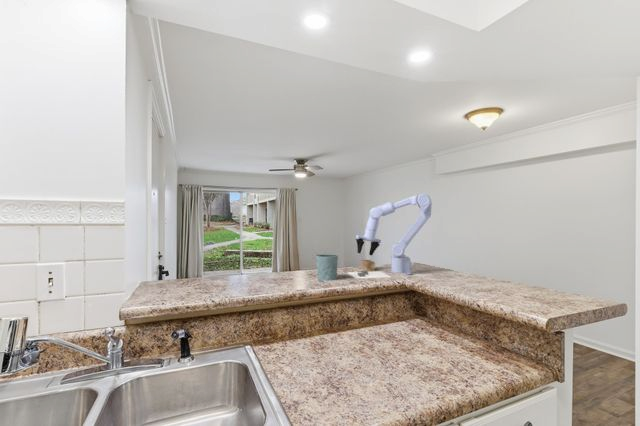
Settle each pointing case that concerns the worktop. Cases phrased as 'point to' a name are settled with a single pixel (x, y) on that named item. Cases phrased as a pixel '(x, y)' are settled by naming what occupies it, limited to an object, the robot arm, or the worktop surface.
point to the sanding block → (367, 265)
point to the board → (370, 274)
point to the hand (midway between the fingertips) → (364, 253)
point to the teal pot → (327, 267)
